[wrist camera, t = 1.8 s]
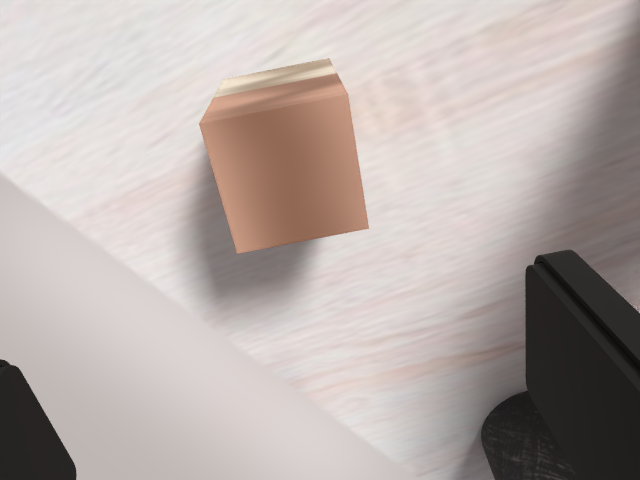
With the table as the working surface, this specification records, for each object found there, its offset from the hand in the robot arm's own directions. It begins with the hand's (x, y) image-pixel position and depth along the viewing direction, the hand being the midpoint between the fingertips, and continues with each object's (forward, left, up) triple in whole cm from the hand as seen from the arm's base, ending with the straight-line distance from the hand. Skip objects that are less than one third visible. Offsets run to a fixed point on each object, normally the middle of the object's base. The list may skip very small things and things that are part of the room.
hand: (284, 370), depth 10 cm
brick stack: (0, 0, -18) cm, 18 cm away
